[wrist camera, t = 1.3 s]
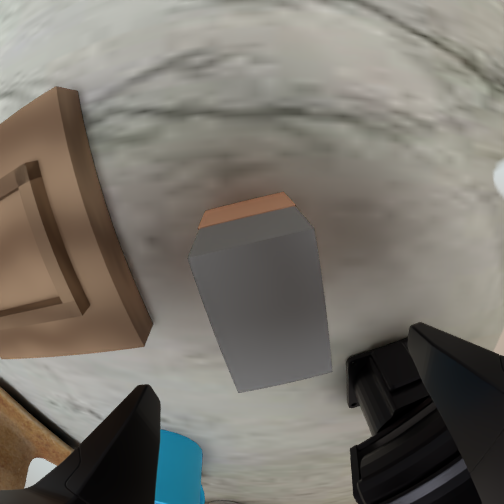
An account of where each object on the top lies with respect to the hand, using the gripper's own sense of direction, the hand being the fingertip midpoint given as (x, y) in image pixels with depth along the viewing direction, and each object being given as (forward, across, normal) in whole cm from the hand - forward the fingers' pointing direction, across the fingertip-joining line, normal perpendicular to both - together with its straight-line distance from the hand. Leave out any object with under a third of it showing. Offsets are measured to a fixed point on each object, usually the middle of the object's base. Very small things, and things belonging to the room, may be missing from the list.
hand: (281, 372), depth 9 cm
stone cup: (+10, +34, +15) cm, 38 cm away
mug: (+10, +14, +21) cm, 27 cm away
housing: (+10, 0, 0) cm, 10 cm away
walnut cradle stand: (+9, +16, -5) cm, 19 cm away
